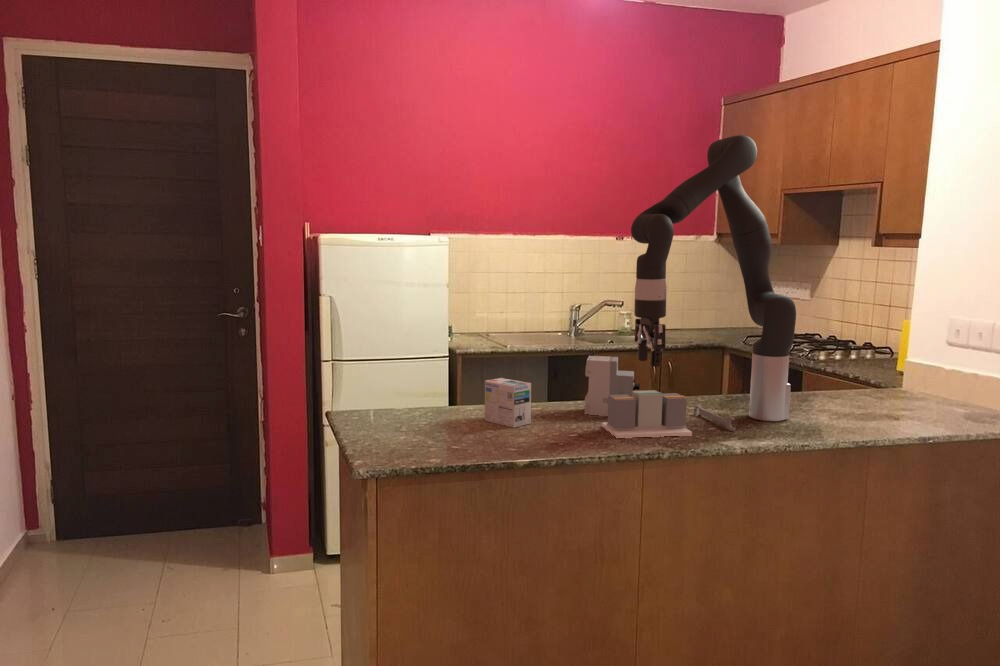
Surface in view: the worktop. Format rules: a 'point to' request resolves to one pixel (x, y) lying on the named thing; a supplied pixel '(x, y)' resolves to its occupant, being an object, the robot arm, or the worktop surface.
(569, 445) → the worktop surface
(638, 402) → the block
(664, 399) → the rail board
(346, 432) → the worktop surface
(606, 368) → the circuit breaker
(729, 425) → the combination wrench
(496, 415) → the light bulb box
